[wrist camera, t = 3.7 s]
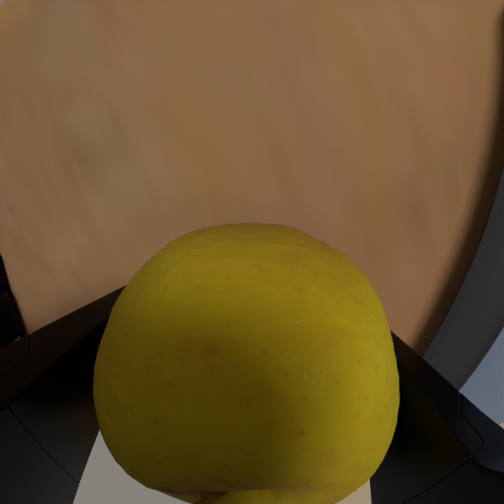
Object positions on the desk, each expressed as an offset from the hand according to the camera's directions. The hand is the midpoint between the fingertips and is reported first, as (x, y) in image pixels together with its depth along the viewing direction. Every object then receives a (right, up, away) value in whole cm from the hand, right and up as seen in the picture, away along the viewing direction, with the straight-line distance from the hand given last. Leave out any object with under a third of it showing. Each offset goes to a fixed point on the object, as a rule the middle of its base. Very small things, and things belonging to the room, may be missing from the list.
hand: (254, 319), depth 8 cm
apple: (0, +1, +2) cm, 2 cm away
